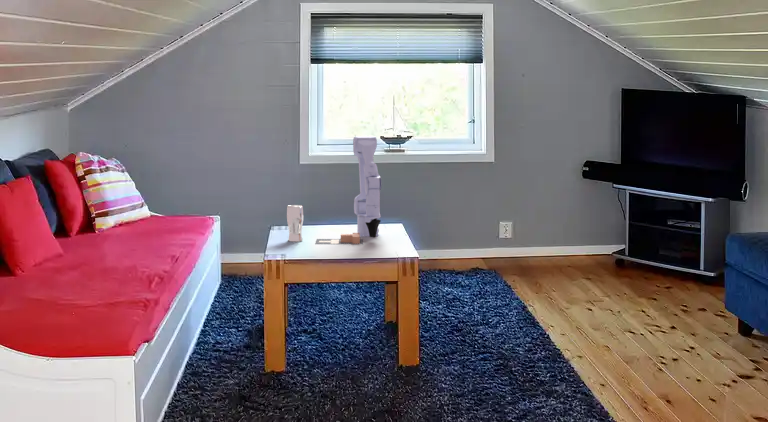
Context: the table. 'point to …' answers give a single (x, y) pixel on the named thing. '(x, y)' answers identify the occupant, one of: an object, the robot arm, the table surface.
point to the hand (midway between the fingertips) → (372, 237)
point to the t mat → (333, 241)
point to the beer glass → (295, 222)
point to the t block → (351, 238)
